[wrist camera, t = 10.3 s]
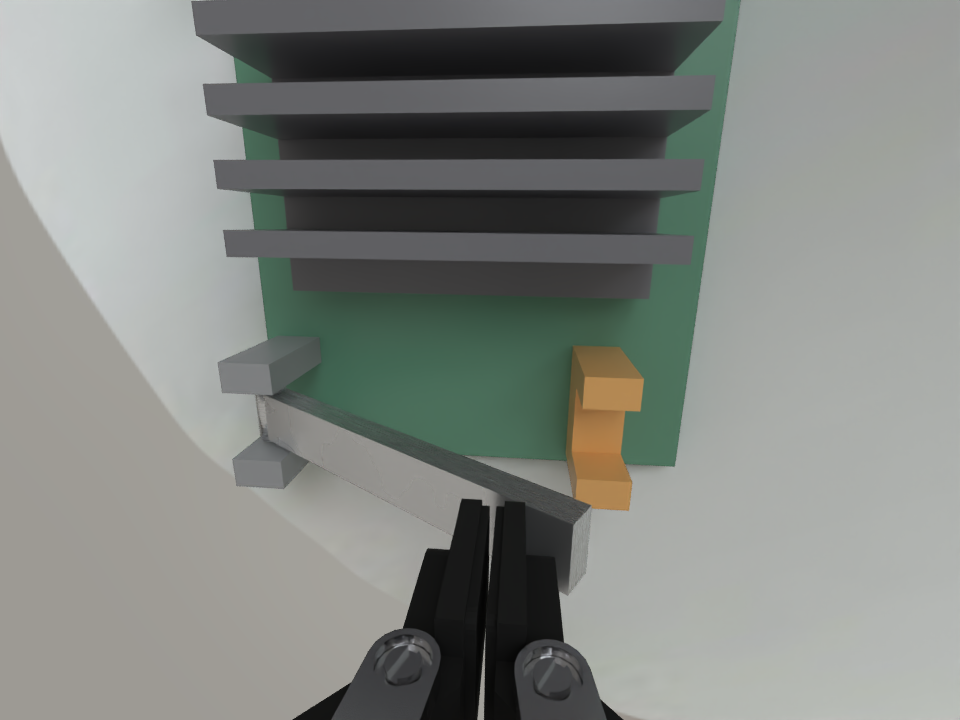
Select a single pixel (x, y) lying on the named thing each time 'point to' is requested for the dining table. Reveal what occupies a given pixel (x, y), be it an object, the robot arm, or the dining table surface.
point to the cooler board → (506, 336)
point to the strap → (425, 476)
